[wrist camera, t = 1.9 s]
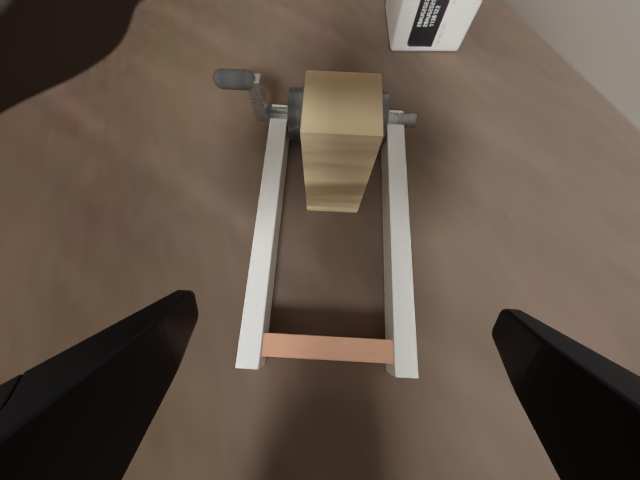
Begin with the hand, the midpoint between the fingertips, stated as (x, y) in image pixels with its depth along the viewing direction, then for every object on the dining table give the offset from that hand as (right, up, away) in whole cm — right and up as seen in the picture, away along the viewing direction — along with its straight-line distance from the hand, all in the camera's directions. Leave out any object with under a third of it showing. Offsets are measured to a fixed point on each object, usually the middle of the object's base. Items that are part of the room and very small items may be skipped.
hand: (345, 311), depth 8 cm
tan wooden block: (0, +7, +17) cm, 18 cm away
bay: (-1, +4, +16) cm, 16 cm away
